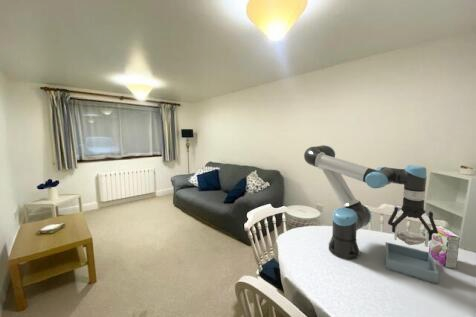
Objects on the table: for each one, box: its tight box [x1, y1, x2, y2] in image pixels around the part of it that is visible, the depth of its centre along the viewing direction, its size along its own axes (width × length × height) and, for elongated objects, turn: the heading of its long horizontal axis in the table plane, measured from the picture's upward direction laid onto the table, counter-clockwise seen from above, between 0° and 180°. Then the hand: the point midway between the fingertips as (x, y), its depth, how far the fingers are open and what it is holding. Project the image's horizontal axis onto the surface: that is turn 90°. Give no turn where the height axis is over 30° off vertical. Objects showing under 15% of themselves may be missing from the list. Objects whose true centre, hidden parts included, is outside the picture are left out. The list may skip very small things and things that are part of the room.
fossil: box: [397, 229, 426, 246], centre depth 96 cm, size 9×6×10 cm
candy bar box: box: [428, 225, 461, 269], centre depth 99 cm, size 11×5×16 cm, turn 168°
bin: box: [384, 242, 440, 285], centre depth 98 cm, size 18×18×5 cm
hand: (410, 242), depth 96 cm, fingers closed on fossil, 11 cm apart
